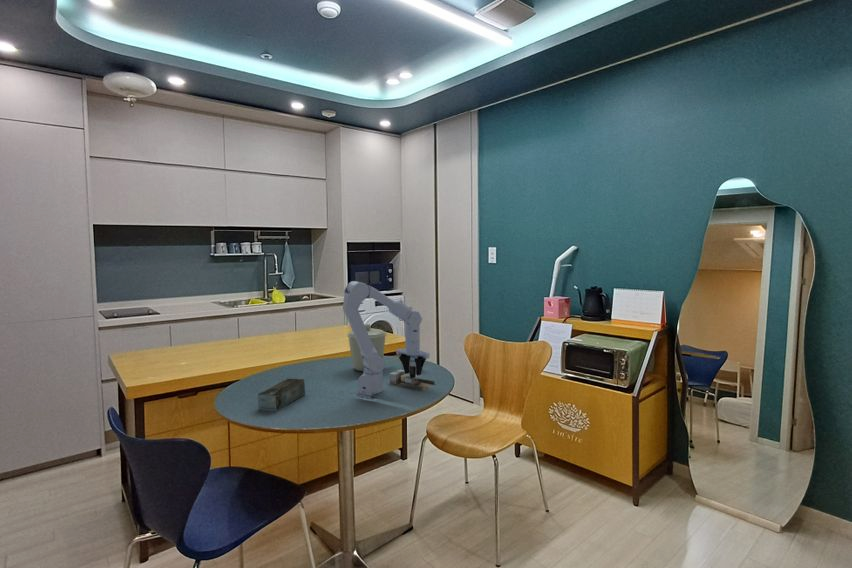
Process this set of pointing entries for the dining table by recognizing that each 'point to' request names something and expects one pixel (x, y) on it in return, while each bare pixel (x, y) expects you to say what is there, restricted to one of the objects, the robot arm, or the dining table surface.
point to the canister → (377, 341)
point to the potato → (404, 377)
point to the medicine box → (411, 362)
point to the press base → (396, 381)
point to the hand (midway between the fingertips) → (412, 374)
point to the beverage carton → (281, 394)
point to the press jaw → (413, 377)
